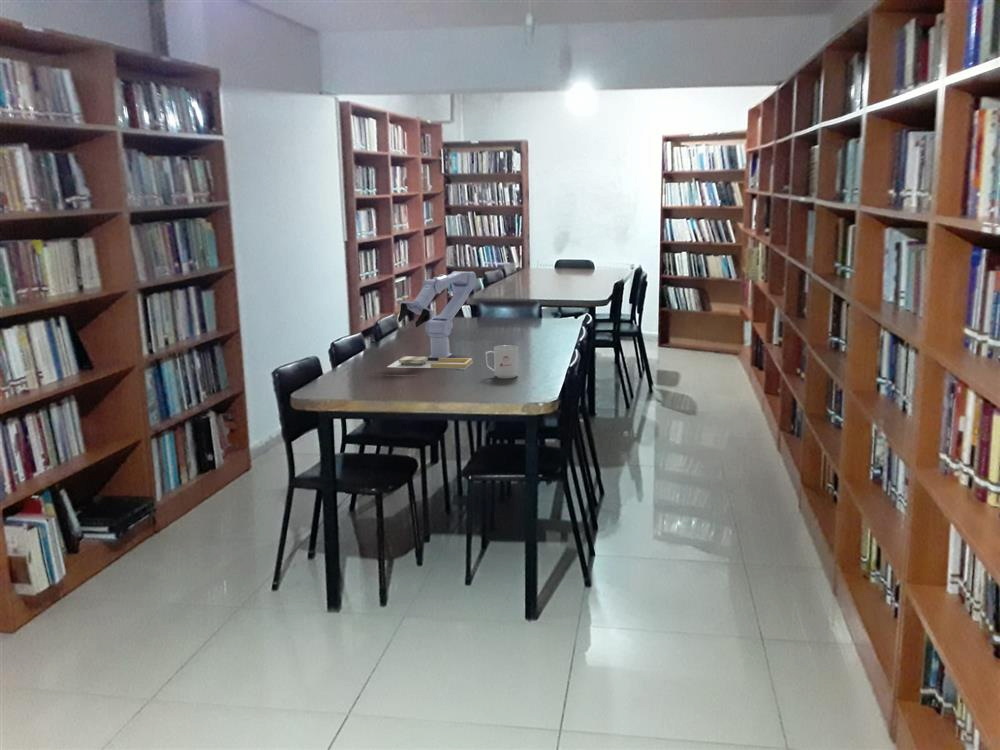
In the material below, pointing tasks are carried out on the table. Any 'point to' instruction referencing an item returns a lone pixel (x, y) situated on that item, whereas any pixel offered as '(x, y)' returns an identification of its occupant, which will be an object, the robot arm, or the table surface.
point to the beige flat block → (413, 360)
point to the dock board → (438, 363)
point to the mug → (505, 361)
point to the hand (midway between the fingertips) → (407, 322)
